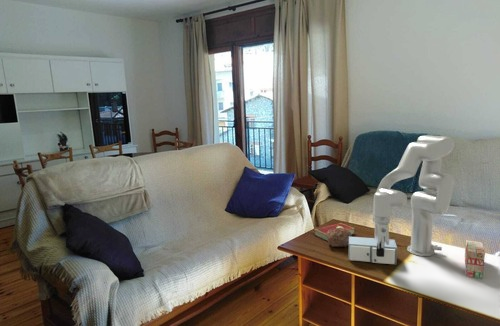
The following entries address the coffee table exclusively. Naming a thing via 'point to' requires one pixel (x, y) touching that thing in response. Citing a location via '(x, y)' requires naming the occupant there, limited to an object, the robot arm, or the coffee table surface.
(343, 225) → the hardcover book
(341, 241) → the decorative rock
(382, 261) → the left door
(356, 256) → the cabinet
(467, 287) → the coffee table surface
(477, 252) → the stack of blocks
